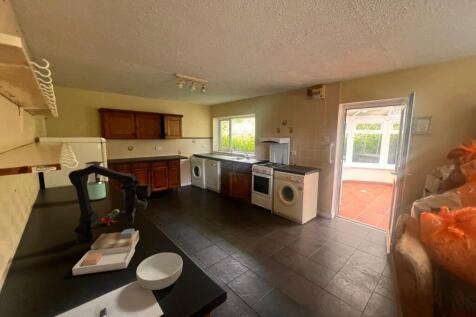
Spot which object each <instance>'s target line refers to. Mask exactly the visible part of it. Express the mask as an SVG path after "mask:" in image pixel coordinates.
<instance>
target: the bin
mask: <svg viewBox="0 0 476 317" xmlns="http://www.w3.org/2000/svg"><path fill="white" fill-rule="evenodd" d="M135 248H136V246H126V247H117V248H108V249H99V250H91V249H90V250H88V251H87V252H86V253H85V254H84V255H83V256H82V258H81V259H79V261H78V262H77V263H76V264H75V265H74V266H73V267H72V270H71V271H72V276H79V275H80V276H81V275H86V274H94V273H100V272H102V273H103V272H108V271H115V270H117V271H118V270H123V269H127V267H128V265H129V263H130V261H131V260H132V257H133V256H134V253H135V251H136V249H135ZM94 253H102V258H101V260H100V261H99V262H98V263H97V265H88V266H84V263H83V260H84V259H85V258H86V257H87V256H88V255H89V254H94Z"/></svg>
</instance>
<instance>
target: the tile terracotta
mask: <svg viewBox="0 0 476 317" xmlns="http://www.w3.org/2000/svg"><path fill="white" fill-rule="evenodd" d="M101 258H102V253H94V254H89V255H88V256H87V257H86V258H85V259H84V260H83V263H84V266H88V265H97V263H98V262H99V261H100V260H101Z"/></svg>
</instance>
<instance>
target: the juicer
mask: <svg viewBox="0 0 476 317" xmlns="http://www.w3.org/2000/svg"><path fill="white" fill-rule="evenodd" d="M84 164H85V168H87V167H89V166H91V165H95V164H97V165H99V166H102V167H104V161H97V160H96V161H95V160H94V161H93V160H92V161H88V162H84ZM87 189H88V193H89V198H90V201H92V202H93V203H94V202H96V201H99V200H106V197H107V194H106V183H105V181H104V180H103V176H102V175H99V174H96V173H92V174H90V175H88V182H87Z"/></svg>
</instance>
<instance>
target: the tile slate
mask: <svg viewBox="0 0 476 317" xmlns="http://www.w3.org/2000/svg"><path fill="white" fill-rule="evenodd" d="M134 231H135V228H127V229H126V228H125V229H123V230H122V231H121V232H122V233H121V239H122V238H132V236H133V234H134Z"/></svg>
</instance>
